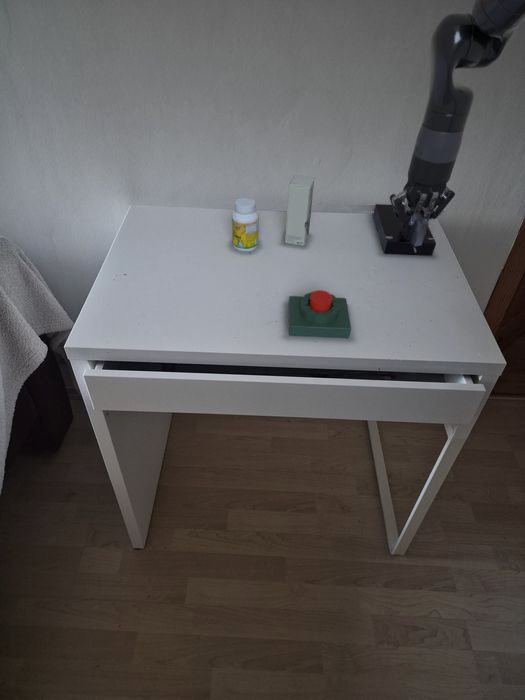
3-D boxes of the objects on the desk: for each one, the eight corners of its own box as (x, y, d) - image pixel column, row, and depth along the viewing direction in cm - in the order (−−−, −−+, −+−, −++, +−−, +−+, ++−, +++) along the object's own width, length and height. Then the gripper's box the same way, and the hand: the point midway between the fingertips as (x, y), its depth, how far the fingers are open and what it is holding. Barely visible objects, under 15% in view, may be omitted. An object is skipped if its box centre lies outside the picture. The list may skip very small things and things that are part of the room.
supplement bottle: (262, 248, 93) (264, 205, 86) (240, 254, 91) (239, 211, 84) (250, 236, 96) (250, 193, 89) (228, 242, 94) (226, 199, 87)
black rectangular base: (436, 266, 90) (441, 252, 87) (386, 264, 90) (389, 250, 87) (416, 217, 103) (419, 204, 101) (372, 215, 104) (375, 203, 101)
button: (330, 298, 76) (331, 290, 74) (331, 312, 73) (333, 304, 72) (308, 298, 76) (309, 289, 74) (309, 311, 73) (310, 303, 72)
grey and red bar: (421, 245, 89) (429, 221, 86) (414, 246, 89) (421, 222, 85) (406, 230, 93) (412, 207, 90) (399, 231, 93) (405, 208, 89)
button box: (344, 307, 80) (347, 289, 77) (348, 338, 74) (353, 320, 71) (288, 305, 80) (290, 287, 77) (288, 336, 74) (290, 317, 71)
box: (304, 247, 93) (310, 188, 84) (283, 243, 94) (287, 185, 85) (309, 234, 97) (315, 176, 88) (289, 231, 98) (293, 173, 88)
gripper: (412, 165, 75) (389, 253, 87) (481, 156, 78) (449, 242, 90) (390, 148, 80) (371, 233, 92) (455, 140, 83) (429, 224, 95)
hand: (410, 238), depth 91 cm, fingers closed on grey and red bar, 2 cm apart
